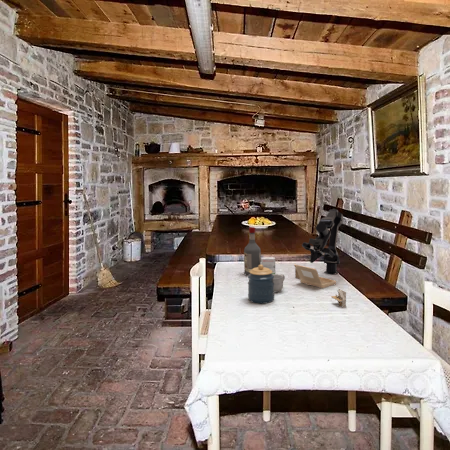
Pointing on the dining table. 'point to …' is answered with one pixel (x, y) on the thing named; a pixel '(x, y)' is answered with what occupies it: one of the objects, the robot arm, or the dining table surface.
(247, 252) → the liquor
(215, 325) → the dining table surface
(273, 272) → the ink box
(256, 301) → the canister
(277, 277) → the teacup
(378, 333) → the dining table surface
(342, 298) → the architectural model
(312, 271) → the mailer lid
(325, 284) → the box
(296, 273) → the walnut block
